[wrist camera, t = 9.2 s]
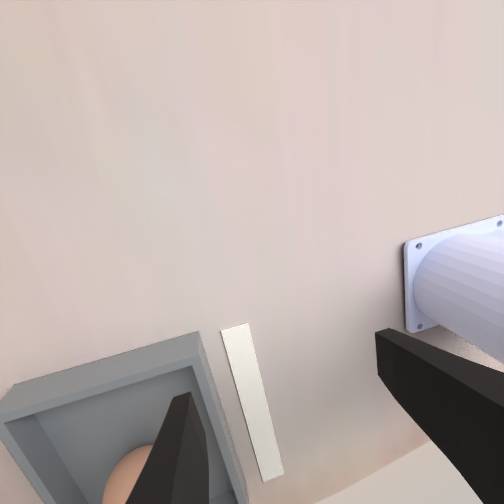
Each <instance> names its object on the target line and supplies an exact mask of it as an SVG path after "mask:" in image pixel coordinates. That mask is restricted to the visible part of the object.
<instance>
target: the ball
mask: <svg viewBox="0 0 504 504" xmlns="http://www.w3.org/2000/svg"><path fill="white" fill-rule="evenodd" d="M152 447H153V445H145V446H141V447H139V448H136V449H134V450H133V451H131V452H130V453H128V454H127V455H126V456H125V457H124V458H123V459H121V460H120V462H119V463H118V464H117V465H116V467H115V468H114V470H113V471H112V473H111V475H110V476H109V479H108V481H107V483H106V486H105V489H104V494H103V499H102V504H125V502H126V501H127V499H128V497H129V495H130V493H131V491H132V489H133V487H134V485H135V483H136V481H137V479H138V477H139V475H140V473H141V471H142V469H143V467H144V465H145V462H146V460H147V458H148V456H149V454H150V451H151V449H152Z"/></svg>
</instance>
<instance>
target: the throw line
mask: <svg viewBox="0 0 504 504" xmlns="http://www.w3.org/2000/svg"><path fill="white" fill-rule="evenodd" d="M221 333H222V337H223V340H224V344H225V348H226V351H227V355H228V358H229V362H230V365H231V369H232V373H233V376H234V380H235V383H236V387H237V390H238V394H239V397H240V401H241V405H242V408H243V412H244V415H245V419H246V422H247V426H248V430H249V433H250V437H251V440H252V444H253V447H254V451H255V454H256V458H257V462H258V465H259V469H260V472H261V476H262V479H263V482H265V481H267V480H270V479H273V478H275V477H278V476H281V475H283V474H284V470H283V466H282V462H281V458H280V453H279V449H278V445H277V441H276V437H275V433H274V429H273V424H272V420H271V416H270V412H269V408H268V404H267V400H266V395H265V391H264V387H263V383H262V379H261V375H260V371H259V366H258V362H257V358H256V354H255V350H254V346H253V342H252V337H251V333H250V329H249V325H248V323H246V324H243V325H239V326H236V327H232V328H229V329H226V330H222V331H221Z"/></svg>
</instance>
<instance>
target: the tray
mask: <svg viewBox="0 0 504 504" xmlns="http://www.w3.org/2000/svg"><path fill="white" fill-rule="evenodd" d="M190 391H191V393H192V396H193V399H194V402H195V405H196V407H197V410H198V413H199V416H200V419H201V422H202V425H203V427H204V430H205V433H206V442H207V451H208V462H209V504H249V500H248V494H247V488H246V483H245V479H244V476H243V473H242V470H241V467H240V463H239V460H238V457H237V454H236V450H235V447H234V444H233V441H232V438H231V434H230V431H229V428H228V425H227V422H226V418H225V415H224V412H223V409H222V406H221V402H220V399H219V396H218V393H217V390H216V386H215V383H214V380H213V377H212V373H211V370H210V367H209V364H208V361H207V357H206V354H205V351H204V348H203V345H202V341H201V338H200V335H199V332H198V331H197V332H193V333H190V334H187V335H183V336H180V337H176V338H173V339H169V340H166V341H163V342H159V343H156V344H152V345H149V346H145V347H142V348H139V349H135V350H132V351H128V352H125V353H121V354H118V355H115V356H111V357H108V358H104V359H101V360H97V361H94V362H91V363H87V364H84V365H80V366H77V367H74V368H70V369H67V370H63V371H60V372H56V373H53V374H50V375H46V376H43V377H39V378H36V379H32V380H29V381H26V382H22V383H19V384H15V385H14V386H13V387H12V388H11V390H10V391H9V392H8V393H7V394H6V396H5V397H4V398H3V399H2V401H1V402H0V439H1V441H2V442H3V444H4V445H5V447H6V448H7V450H8V451H9V453H10V454H11V456H12V457H13V458H14V460H15V461H16V463H17V464H18V466H19V467H20V469H21V470H22V472H23V473H24V475H25V476H26V478H27V479H28V481H29V482H30V483H31V485H32V486H33V488H34V489H35V491H36V492H37V494H38V495H39V497H40V498H41V500H42V501H43V503H44V504H102V499H103V494H104V489H105V486H106V483H107V481H108V479H109V476H110V475H111V473H112V471H113V470H114V468H115V467H116V465H117V464H118V463H119V462H120V460H121V459H123V458H124V457H125V456H126V455H127V454H128V453H130V452H131V451H133V450H134V449H136V448H139V447H141V446H145V445H154V442H155V440H156V438H157V436H158V433H159V431H160V428H161V426H162V424H163V421H164V419H165V416H166V413H167V411H168V408H169V406H170V403H171V400H172V399H173V397H175V396H178V395H181V394H184V393H187V392H190Z"/></svg>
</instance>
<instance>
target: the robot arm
mask: <svg viewBox="0 0 504 504" xmlns="http://www.w3.org/2000/svg"><path fill="white" fill-rule="evenodd" d="M417 244H418V246H417V247H416V245H417ZM404 276H405V310H406V330H407V331H409V332H410V333H416V332H419V331H422V330H425V329H428V328H431V327H434V326H437V325H442V326H443V327H445V328H447V329H448V330H450V331H451V332H453V333H454V334H456V335H458V336H459V337H461V338H462V339H464V340H466V341H467V342H469V343H470V344H472V345H474V346H475V347H477V348H478V349H480V350H482V351H483V352H485V353H486V354H488V355H490V356H491V357H493V358H494V359H496V360H498V361H499V362H501V363H502V364H504V214H503V215H499V216H496V217H492V218H489V219H485V220H481V221H478V222H474V223H471V224H467V225H463V226H460V227H456V228H452V229H449V230H445V231H442V232H438V233H434V234H431V235H427V236H424V237H420V238H416V239H413V240H409V241H407V242H406V243H405V245H404ZM375 340H376V354H377V368H378V375H379V377H380V378H381V380H382V381H383V383H384V384H385V385H386V387H387V388H388V390H389V391H390V392H391V394H392V395H393V397H394V398H395V399H396V400H397V402H398V403H399V404H400V405H401V406H402V407H403V409H404V410H405V411H406V412H407V413H408V414H409V415H410V416H411V418H412V419H413V420H414V421H415V422H416V423H417V424H418V425H419V427H420V428H421V429H422V430H423V431H424V432H425V433H426V434H427V435H428V437H429V438H430V439H431V440H432V441H433V442H434V443H435V444H436V445H437V447H438V448H439V449H440V450H441V451H442V452H443V453H444V454H445V455H446V457H447V458H448V459H449V460H450V461H451V463H452V464H453V465H454V466H455V467H456V469H457V470H458V471H459V472H460V473H461V475H462V476H463V477H464V479H465V480H466V481H467V483H468V484H469V485H470V487H471V488H472V489H473V490H474V492H475V493H476V494H477V496H478V497H479V498H480V500H481V501H482V502H483V504H504V373H503V372H500V371H497V370H494V369H492V368H489V367H486V366H483V365H480V364H478V363H475V362H472V361H469V360H467V359H464V358H462V357H459V356H456V355H454V354H451V353H449V352H446V351H444V350H441V349H439V348H437V347H434V346H432V345H429V344H427V343H425V342H422V341H420V340H417V339H415V338H413V337H410V336H408V335H406V334H403V333H401V332H398V331H396V330H393V329H390V328H388V329H385V330H382V331H378V332H375ZM125 504H209V462H208V451H207V442H206V433H205V430H204V427H203V425H202V422H201V419H200V416H199V413H198V410H197V407H196V405H195V402H194V399H193V396H192V393H191V391H190V392H187V393H184V394H181V395H178V396H175V397H173V399H172V400H171V403H170V406H169V408H168V411H167V413H166V416H165V419H164V421H163V424H162V426H161V428H160V431H159V433H158V436H157V438H156V440H155V442H154V445H153V447H152V449H151V451H150V454H149V456H148V458H147V460H146V462H145V465H144V467H143V469H142V471H141V473H140V475H139V477H138V479H137V481H136V483H135V485H134V487H133V489H132V491H131V493H130V495H129V497H128V499H127V501H126V502H125Z"/></svg>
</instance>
